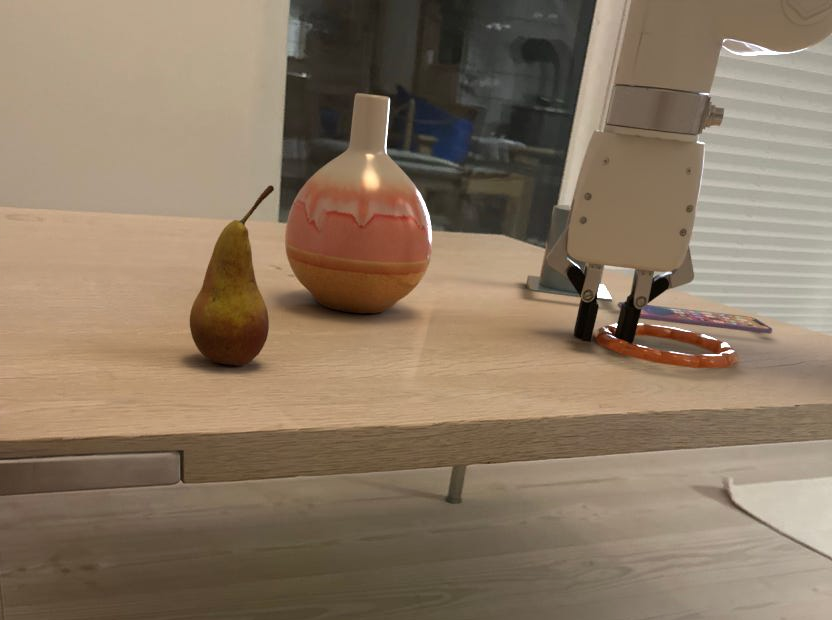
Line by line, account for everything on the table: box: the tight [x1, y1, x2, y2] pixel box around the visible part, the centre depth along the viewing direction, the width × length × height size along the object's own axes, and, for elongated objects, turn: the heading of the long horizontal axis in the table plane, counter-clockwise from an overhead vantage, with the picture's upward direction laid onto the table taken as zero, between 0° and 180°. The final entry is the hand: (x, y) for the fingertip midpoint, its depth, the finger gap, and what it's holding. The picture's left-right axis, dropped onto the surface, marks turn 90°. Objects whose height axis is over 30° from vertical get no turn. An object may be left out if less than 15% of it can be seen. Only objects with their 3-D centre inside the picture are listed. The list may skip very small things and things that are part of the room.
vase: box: [284, 92, 433, 314], centre depth 84 cm, size 14×14×18 cm
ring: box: [593, 322, 739, 369], centre depth 83 cm, size 12×12×2 cm
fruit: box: [189, 185, 275, 366], centre depth 65 cm, size 6×6×12 cm
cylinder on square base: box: [525, 204, 613, 302], centre depth 103 cm, size 9×9×9 cm
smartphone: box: [617, 301, 773, 334], centre depth 97 cm, size 1×7×15 cm
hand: (600, 346), depth 84 cm, fingers closed
